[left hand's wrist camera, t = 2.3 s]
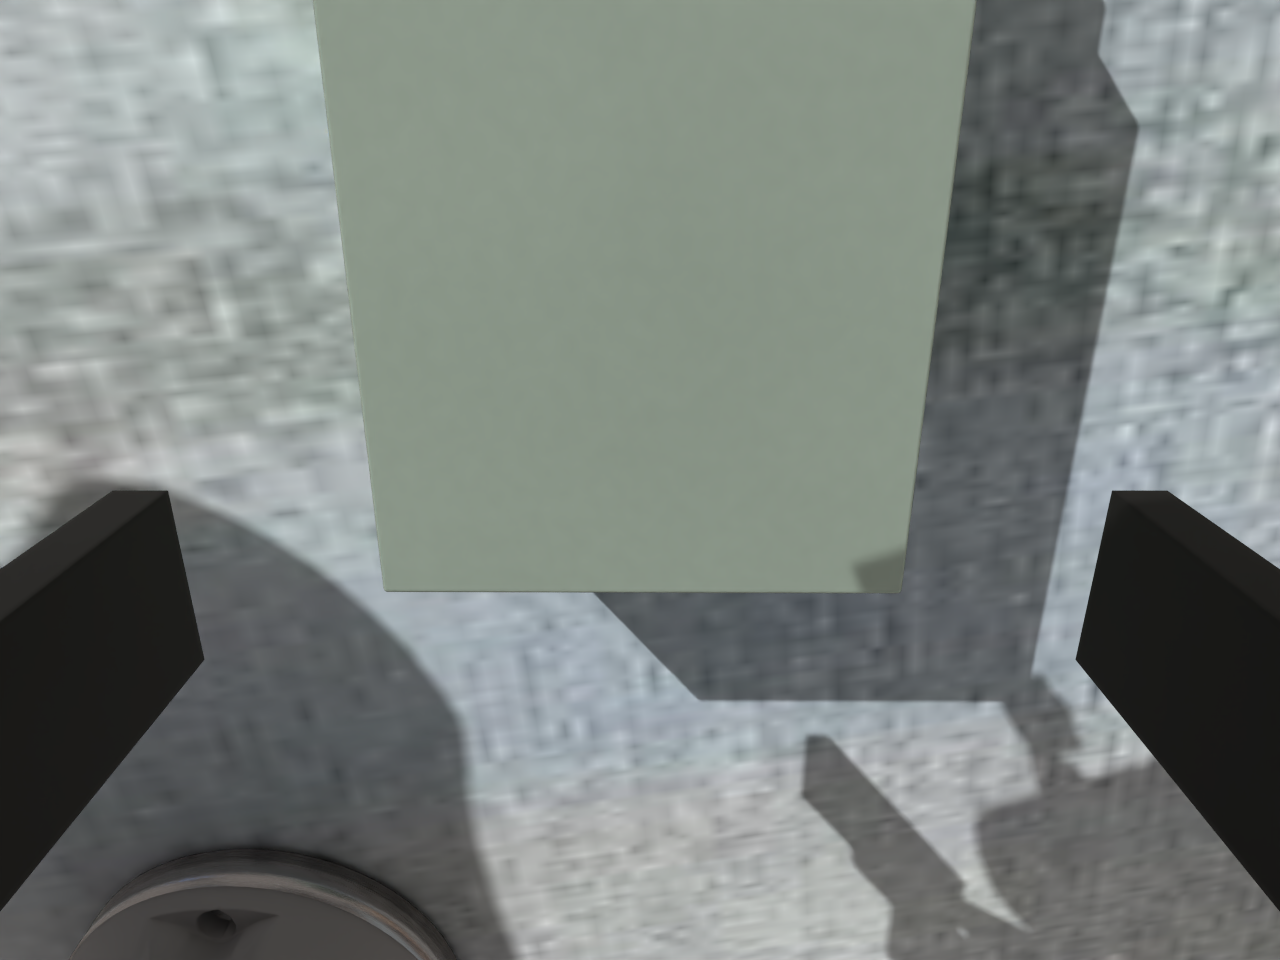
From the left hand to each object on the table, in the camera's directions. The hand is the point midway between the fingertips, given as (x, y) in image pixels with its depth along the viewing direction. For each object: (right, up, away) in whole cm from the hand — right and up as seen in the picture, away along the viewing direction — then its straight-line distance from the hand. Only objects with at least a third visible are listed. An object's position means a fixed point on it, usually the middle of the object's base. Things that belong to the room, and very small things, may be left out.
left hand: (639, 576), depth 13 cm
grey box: (0, +11, +11) cm, 15 cm away
